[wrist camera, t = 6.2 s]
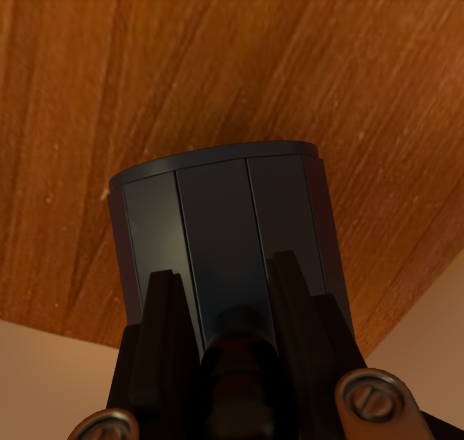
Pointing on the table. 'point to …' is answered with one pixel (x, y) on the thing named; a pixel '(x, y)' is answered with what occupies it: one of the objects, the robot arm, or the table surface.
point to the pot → (230, 267)
